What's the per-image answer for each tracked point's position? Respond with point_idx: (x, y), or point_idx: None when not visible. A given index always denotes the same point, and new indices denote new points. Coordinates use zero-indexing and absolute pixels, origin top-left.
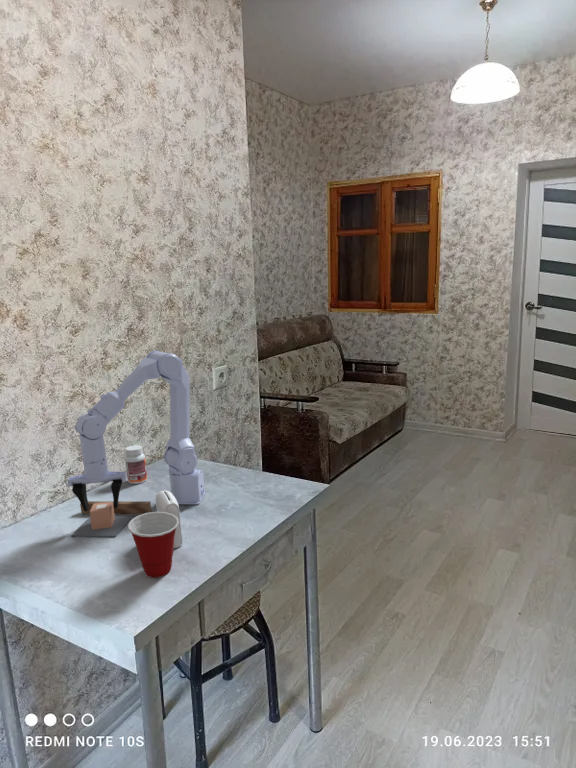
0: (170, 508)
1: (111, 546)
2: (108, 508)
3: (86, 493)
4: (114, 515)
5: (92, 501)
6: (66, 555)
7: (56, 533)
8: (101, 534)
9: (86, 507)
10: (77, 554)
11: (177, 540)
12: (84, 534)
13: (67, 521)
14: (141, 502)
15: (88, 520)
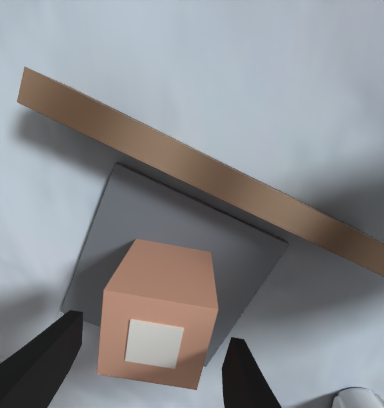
0: None
1: (192, 400)
2: (192, 376)
3: (5, 396)
4: (211, 220)
5: (91, 101)
6: (76, 397)
7: (4, 264)
8: None
9: (69, 365)
10: (105, 403)
11: None
12: None
13: (15, 175)
14: (360, 247)
15: (105, 221)
